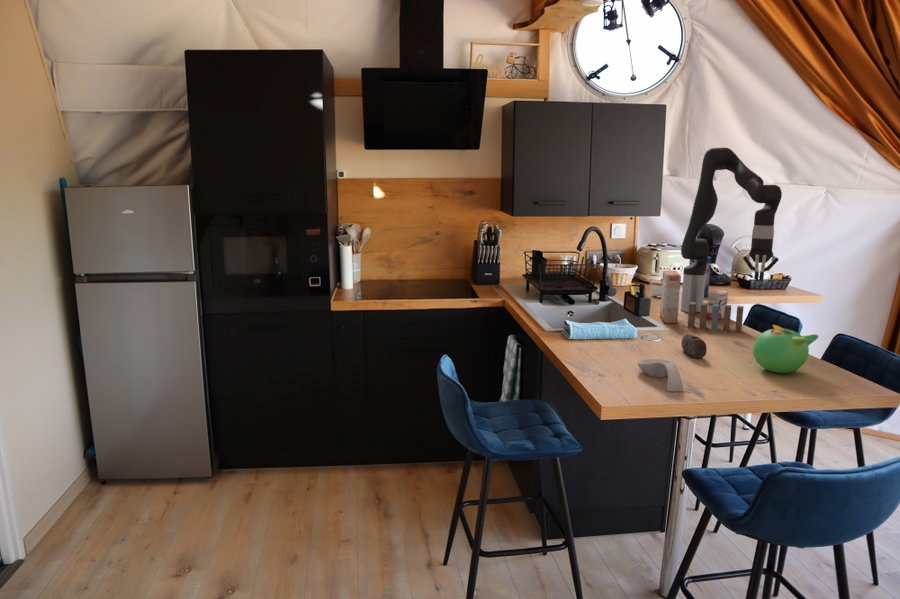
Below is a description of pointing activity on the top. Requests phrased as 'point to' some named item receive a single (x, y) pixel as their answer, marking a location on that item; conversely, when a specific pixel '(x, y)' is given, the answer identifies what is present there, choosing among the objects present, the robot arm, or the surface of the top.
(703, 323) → the domino
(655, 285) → the lidded jar
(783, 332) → the toy bird
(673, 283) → the cracker box
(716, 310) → the domino
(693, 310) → the domino
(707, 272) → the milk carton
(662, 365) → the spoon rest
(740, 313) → the domino
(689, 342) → the perforated stone tool
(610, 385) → the top surface
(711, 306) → the ink box
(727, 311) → the domino
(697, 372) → the top surface
